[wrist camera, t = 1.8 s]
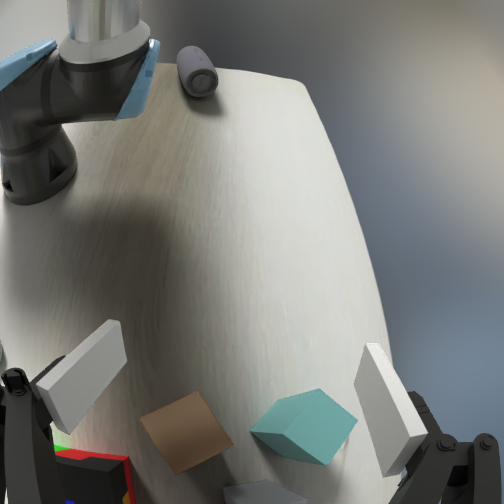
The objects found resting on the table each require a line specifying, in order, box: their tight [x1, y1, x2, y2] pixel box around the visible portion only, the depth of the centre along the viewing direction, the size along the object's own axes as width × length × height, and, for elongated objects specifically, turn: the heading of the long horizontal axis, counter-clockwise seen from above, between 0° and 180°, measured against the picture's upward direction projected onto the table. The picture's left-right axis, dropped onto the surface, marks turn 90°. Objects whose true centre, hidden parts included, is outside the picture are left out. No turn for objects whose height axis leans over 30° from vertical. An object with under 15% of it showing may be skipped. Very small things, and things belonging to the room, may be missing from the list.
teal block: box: [250, 388, 358, 466], centre depth 23 cm, size 5×5×10 cm
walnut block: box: [139, 390, 234, 475], centre depth 20 cm, size 5×5×10 cm
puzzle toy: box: [54, 445, 136, 504], centre depth 13 cm, size 10×10×10 cm
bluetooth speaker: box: [177, 46, 218, 97], centre depth 63 cm, size 23×9×10 cm, turn 19°
